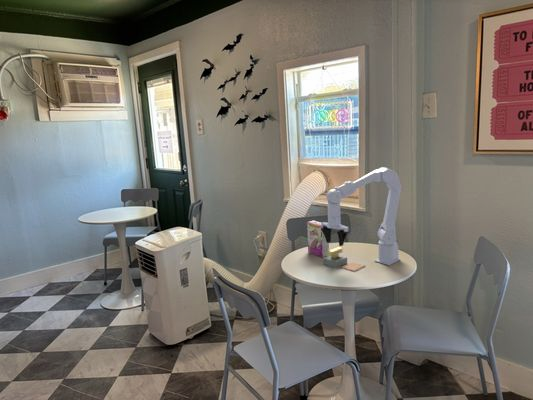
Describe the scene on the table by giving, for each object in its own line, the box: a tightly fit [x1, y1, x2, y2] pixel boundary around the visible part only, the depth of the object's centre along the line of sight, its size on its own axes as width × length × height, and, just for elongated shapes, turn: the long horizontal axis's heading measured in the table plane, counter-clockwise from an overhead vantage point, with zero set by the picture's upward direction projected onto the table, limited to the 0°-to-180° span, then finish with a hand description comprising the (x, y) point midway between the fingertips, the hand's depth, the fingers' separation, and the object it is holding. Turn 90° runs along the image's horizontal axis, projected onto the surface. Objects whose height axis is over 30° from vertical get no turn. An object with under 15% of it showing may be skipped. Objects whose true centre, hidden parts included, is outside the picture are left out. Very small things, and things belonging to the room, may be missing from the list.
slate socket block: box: [322, 254, 348, 269], centre depth 183 cm, size 8×8×3 cm
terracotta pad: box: [341, 261, 366, 273], centre depth 177 cm, size 8×7×1 cm
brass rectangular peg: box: [327, 246, 343, 260], centre depth 182 cm, size 8×2×7 cm, turn 131°
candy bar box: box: [306, 220, 330, 258], centre depth 196 cm, size 11×5×16 cm, turn 34°
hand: (334, 243), depth 181 cm, fingers open, 7 cm apart
